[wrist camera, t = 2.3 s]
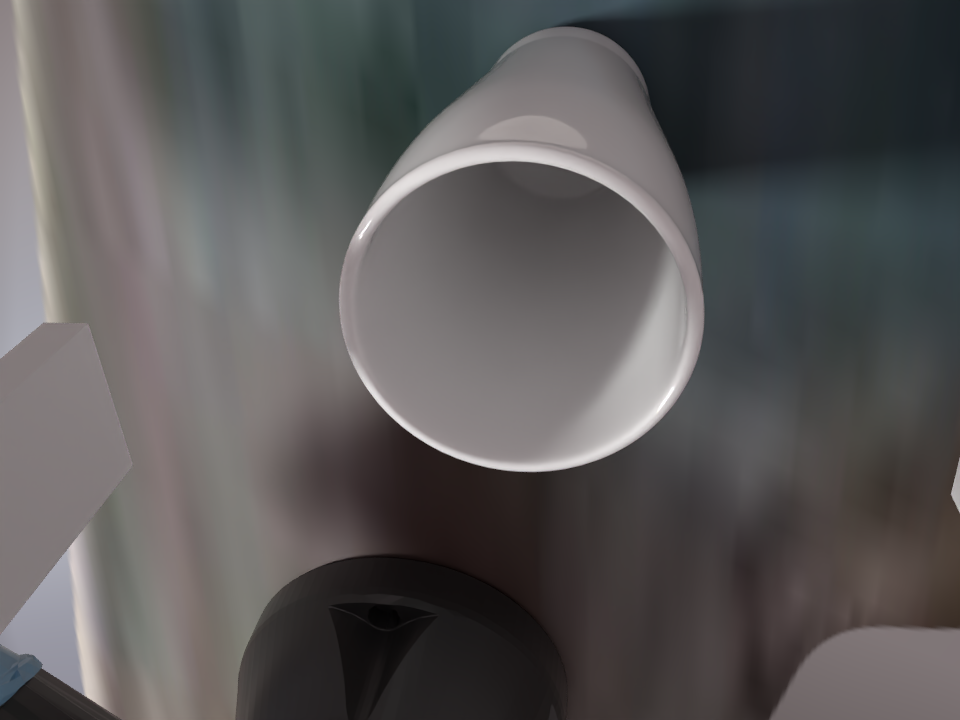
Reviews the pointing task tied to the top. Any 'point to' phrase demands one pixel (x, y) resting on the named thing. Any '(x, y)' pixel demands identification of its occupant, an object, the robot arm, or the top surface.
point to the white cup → (530, 265)
